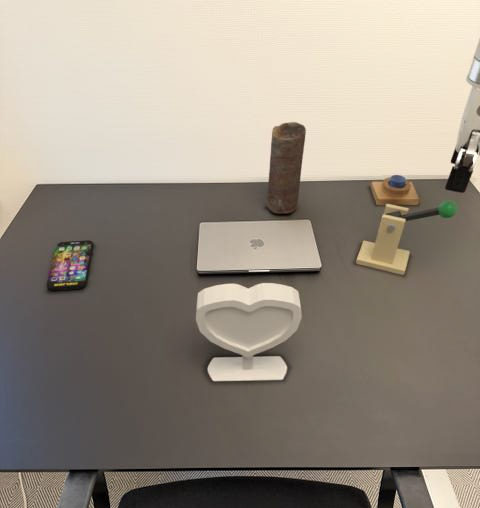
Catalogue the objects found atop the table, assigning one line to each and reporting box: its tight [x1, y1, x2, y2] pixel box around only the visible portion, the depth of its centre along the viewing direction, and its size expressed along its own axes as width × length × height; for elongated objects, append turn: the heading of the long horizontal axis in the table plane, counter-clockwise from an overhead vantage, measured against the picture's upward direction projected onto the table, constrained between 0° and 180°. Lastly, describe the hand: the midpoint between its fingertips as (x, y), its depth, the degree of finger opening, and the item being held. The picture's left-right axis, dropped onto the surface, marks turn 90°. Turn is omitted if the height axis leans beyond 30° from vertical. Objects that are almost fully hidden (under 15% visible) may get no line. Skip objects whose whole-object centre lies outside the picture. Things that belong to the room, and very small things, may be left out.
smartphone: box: [46, 240, 94, 292], centre depth 98 cm, size 8×1×15 cm
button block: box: [370, 176, 420, 206], centre depth 116 cm, size 10×8×4 cm
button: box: [389, 174, 407, 188], centre depth 114 cm, size 4×4×2 cm
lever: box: [386, 200, 458, 222], centre depth 90 cm, size 13×3×3 cm, turn 68°
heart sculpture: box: [195, 282, 303, 382], centre depth 73 cm, size 16×5×18 cm, turn 91°
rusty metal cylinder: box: [266, 121, 307, 215], centre depth 106 cm, size 8×7×20 cm
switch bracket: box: [355, 204, 411, 276], centre depth 96 cm, size 10×7×12 cm
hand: (456, 176), depth 82 cm, fingers open, 9 cm apart
